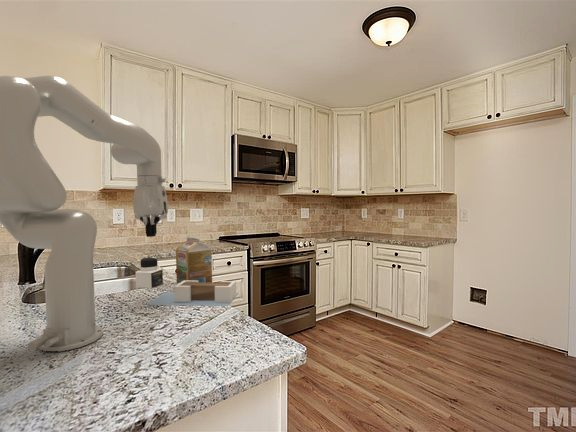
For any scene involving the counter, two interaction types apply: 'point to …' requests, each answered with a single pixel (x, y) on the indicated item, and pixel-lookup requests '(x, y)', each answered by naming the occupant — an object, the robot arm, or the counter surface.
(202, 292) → the brown rectangular block
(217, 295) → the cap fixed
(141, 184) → the robot arm
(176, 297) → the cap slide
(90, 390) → the counter surface
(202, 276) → the milk carton
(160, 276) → the medicine bottle
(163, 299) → the board
